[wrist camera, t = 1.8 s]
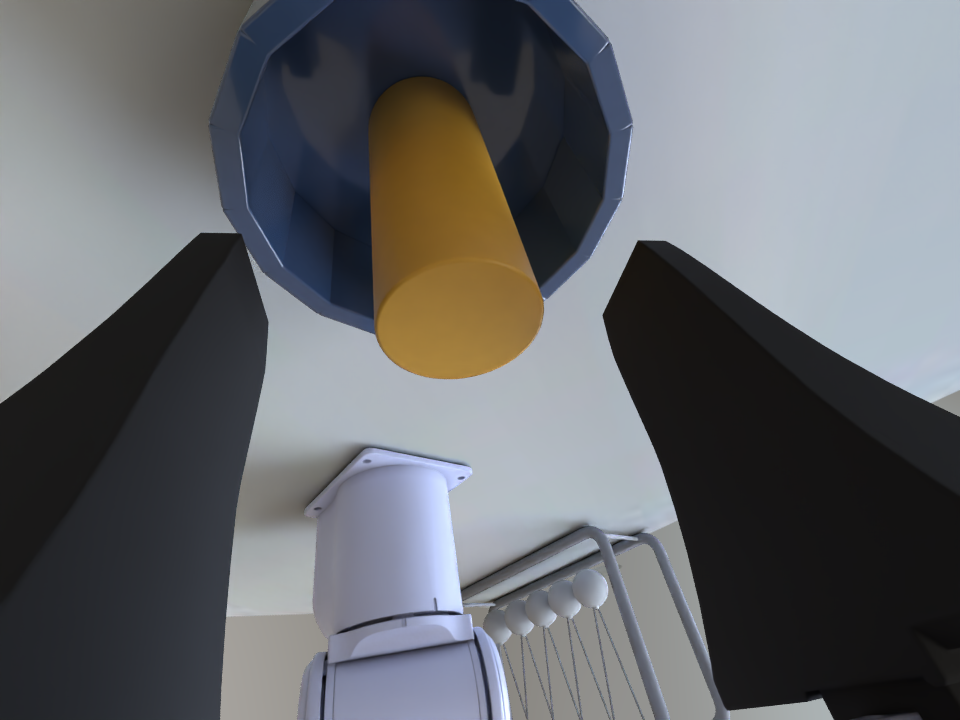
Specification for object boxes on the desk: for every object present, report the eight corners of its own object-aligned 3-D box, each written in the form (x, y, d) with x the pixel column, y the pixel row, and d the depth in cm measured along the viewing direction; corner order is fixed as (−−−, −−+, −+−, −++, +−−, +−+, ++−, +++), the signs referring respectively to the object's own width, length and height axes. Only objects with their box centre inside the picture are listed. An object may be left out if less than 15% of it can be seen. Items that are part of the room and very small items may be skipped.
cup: (567, 221, 17) (609, 303, 14) (327, 270, 17) (321, 364, 14) (587, -367, 8) (719, -469, 5) (60, -265, 8) (-114, -307, 5)
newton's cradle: (489, 604, 66) (516, 765, 55) (429, 605, 60) (445, 785, 49) (657, 526, 50) (743, 732, 39) (597, 517, 44) (677, 757, 33)
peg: (438, 202, 14) (477, 394, 10) (349, 151, 13) (343, 353, 8) (497, 120, 13) (579, 303, 8) (404, 48, 11) (439, 226, 6)
